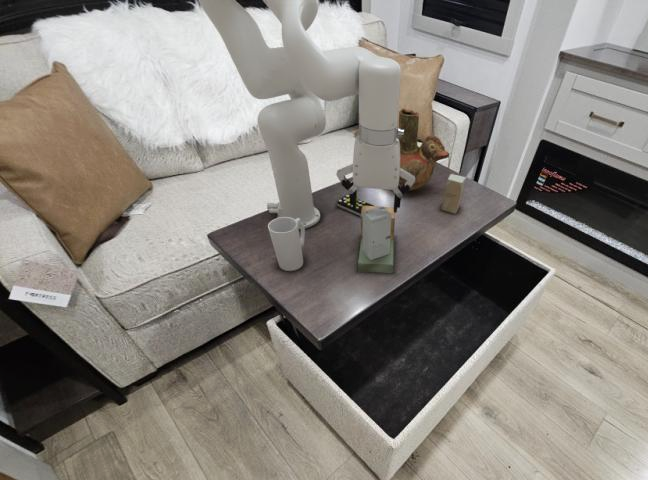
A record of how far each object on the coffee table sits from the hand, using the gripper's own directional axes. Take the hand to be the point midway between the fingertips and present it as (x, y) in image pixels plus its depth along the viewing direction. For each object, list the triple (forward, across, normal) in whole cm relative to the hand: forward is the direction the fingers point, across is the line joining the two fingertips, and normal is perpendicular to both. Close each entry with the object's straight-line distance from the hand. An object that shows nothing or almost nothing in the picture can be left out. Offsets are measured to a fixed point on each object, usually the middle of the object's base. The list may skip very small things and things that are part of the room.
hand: (375, 208), depth 80 cm
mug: (+17, +21, +2) cm, 27 cm away
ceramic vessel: (+17, -10, -42) cm, 46 cm away
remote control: (+17, +7, -25) cm, 31 cm away
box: (+16, -24, -28) cm, 41 cm away
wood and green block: (+16, -1, -3) cm, 16 cm away
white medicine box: (+13, -1, +1) cm, 13 cm away
